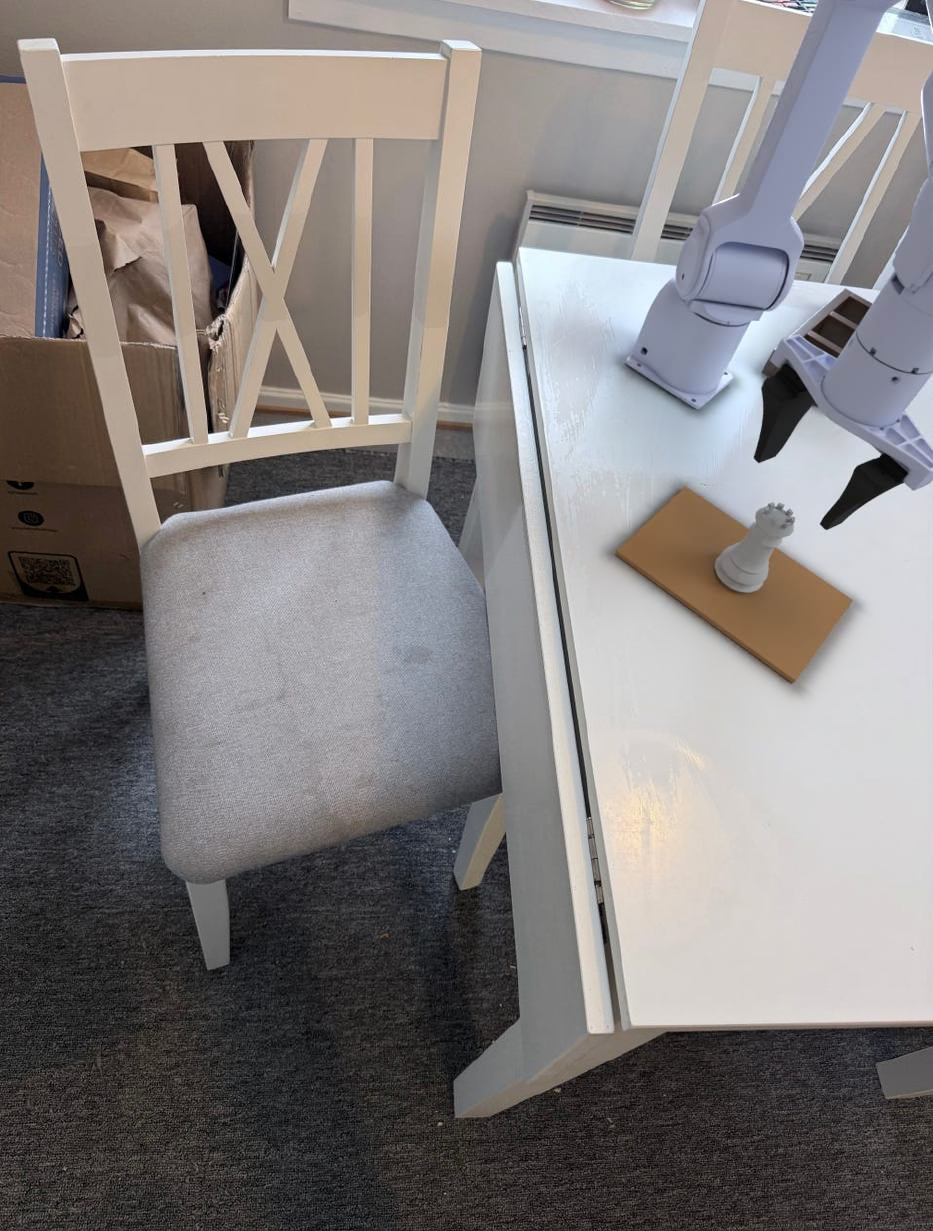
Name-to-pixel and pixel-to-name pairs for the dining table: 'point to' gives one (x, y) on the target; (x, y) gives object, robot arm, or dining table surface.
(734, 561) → the rook chess piece
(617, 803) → the dining table surface
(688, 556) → the cork mat
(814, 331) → the stand
